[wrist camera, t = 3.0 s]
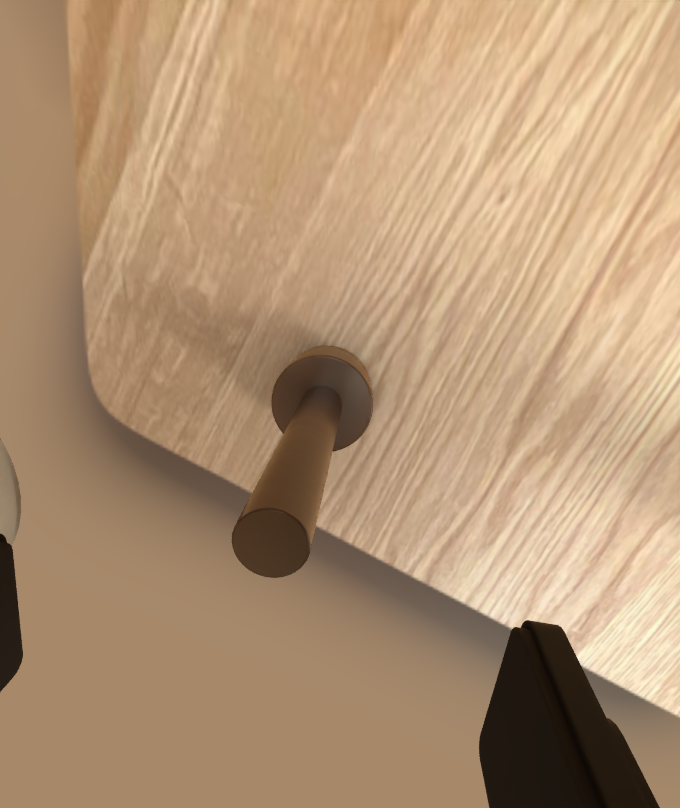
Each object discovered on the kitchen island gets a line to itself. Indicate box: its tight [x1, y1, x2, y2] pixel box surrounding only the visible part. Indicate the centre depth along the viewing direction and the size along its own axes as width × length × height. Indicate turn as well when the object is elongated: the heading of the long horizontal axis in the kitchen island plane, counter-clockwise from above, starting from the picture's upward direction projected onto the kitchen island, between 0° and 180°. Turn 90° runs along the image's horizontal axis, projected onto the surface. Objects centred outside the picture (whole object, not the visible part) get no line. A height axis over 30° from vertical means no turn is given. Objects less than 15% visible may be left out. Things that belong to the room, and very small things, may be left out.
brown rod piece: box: [232, 346, 373, 578], centre depth 19 cm, size 5×5×15 cm
